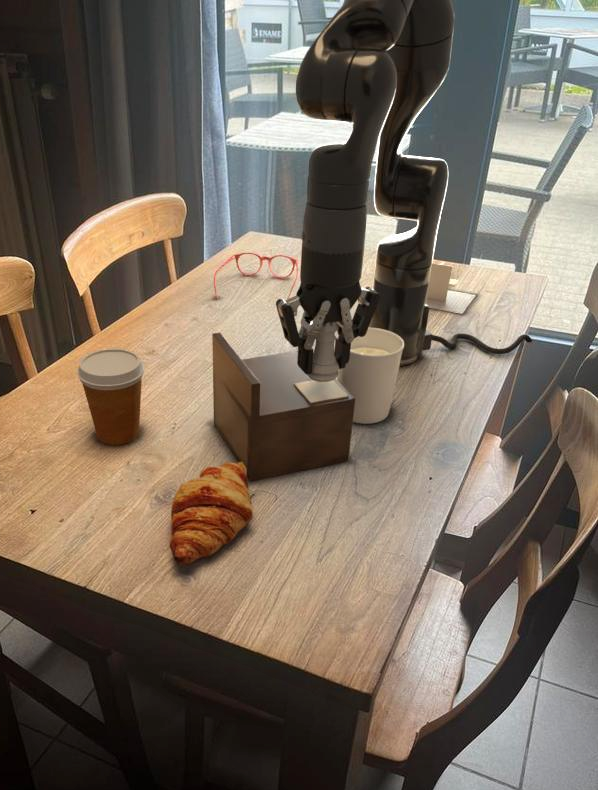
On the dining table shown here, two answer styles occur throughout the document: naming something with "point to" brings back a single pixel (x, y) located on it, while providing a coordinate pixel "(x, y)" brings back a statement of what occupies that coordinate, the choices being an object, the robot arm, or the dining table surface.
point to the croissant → (209, 511)
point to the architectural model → (445, 291)
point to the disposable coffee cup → (113, 393)
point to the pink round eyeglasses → (260, 266)
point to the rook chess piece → (325, 354)
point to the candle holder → (372, 374)
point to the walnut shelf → (278, 413)
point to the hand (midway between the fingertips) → (322, 368)
